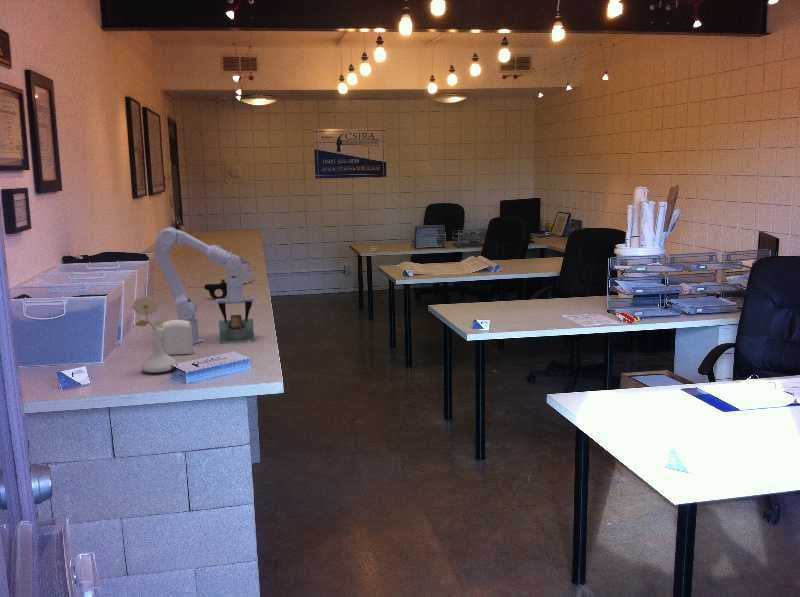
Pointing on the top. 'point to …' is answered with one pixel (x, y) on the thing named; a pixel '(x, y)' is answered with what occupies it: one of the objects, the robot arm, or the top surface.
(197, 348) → the top surface
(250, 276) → the ink cartridge box
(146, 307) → the flower in vase
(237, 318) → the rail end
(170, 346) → the photo printer
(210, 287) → the controller
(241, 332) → the cup bracket
